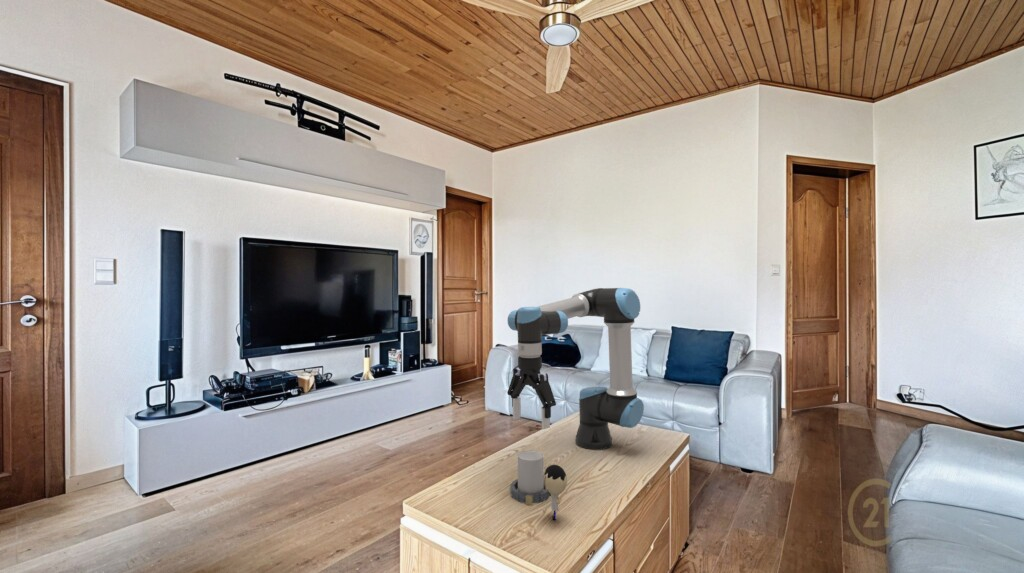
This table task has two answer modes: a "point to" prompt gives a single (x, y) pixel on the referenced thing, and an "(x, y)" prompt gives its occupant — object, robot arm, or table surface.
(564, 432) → the table surface
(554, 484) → the toy
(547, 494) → the collar
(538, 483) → the grey cylinder
